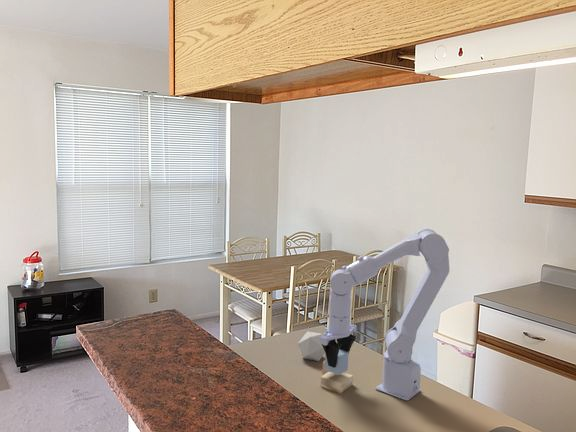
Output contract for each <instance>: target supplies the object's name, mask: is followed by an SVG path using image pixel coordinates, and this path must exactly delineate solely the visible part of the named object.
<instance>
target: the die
mask: <svg viewBox="0 0 576 432" xmlns="http://www.w3.org/2000/svg"><path fill="white" fill-rule="evenodd" d="M323 334H324V333H319V332H313V331H306V333H305V334H304V335H303V336H302V338H301V339H300V340H299V341H298V342H297V345H298V347H299V351H300V353H301V355H302V359H304V360H311V361H315V362H319V361H320V360H321V358H323V357H324V356H325V355H324V354H325V351H324V348H323V346H322V345H321V344H320V336H322V335H323Z"/></svg>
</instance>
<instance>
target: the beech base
mask: <svg viewBox="0 0 576 432" xmlns="http://www.w3.org/2000/svg"><path fill="white" fill-rule="evenodd" d="M353 381H354V375H352V374H351V373H347V372H343V373H341V374H339V375H337V374H334V373H332V372H327V373H326V374H324V375H321V376H320V385H319V386H320V387H321V388H324V389H327V390H330V391H333V392H336V393H338V394H343V393H344V392H345V391H347V390H348V389H349V388H350V387H351V386H353V383H354V382H353Z"/></svg>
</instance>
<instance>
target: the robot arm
mask: <svg viewBox="0 0 576 432" xmlns="http://www.w3.org/2000/svg"><path fill="white" fill-rule="evenodd" d="M449 252H450V248H449V246H448V244H447V243H446V240H445V239H444V237H443V236H442V235H440V234H438V233H437V232H435V231H434V230H433V229H430V228H424V229H422V230H419V231H418V232H414V233H413V234H410V235H409V236H407V237H405V238H403V239H402V240H400V241H398V242H396V243H395V244H393V245H391V246H389V247H388V248H387V249H385V250H383V251H381V252H380V253H378V254H376V255H375V256H371V255H365V256H363V255H360V256H358V257H357V260H356V261H354V262H353V263H351V264H348V265H343V266H342V267H341V268H342V269H340V268H339V269H336V270H334V271H333V272H332V273H331V275H330V278H329V286H330V291H329V295H330V297H329V301H328V302H329V303H328V305H329V306H328V325H327V326H326V327H325V328H324V331H325V332H324V333H322V334H323V335H322V336H320V344H321V345H322V346H323V348H324V351H325V353H326V357H327V362H328V366H331V367H333V368H335V367H336V364H337V358H338V353H339V350H343V351H347V352H349V353H350V351H351V348H352V346H353V345H354V343H355V341H356V340H357V336H356V335H354V334H352V333H356V332H357V325H356V324H353V323H351V305H352V298H351V291H352V290H353V287H356V286H359V285H361V284H363V283H364V282H366V281H368V280H370V279H371V278H373V277H376V276H377V275H378V274H379V270H380V268H382V267H385V266H387V265H389V264H391V263H393V262H395V261H397V260H399V259H401V258H403V257H405V256H415V257H421V254H422V256H423V259H424V261H425V264H426V266H427V269H426V272H425V274H424V276H423V277H422V279H421V281H420V282H419V285H418V286H417V288H416V290H415V291H414V293H413V295H412V297H411V299H410V301H409V302H408V305H407V306H406V308H405V310H404V312H403V314H402V315H401V318H400V319H399V320H397V321H396V322H395V323H394V326H393V327H391V328H390V329H388V330H387V331H386V333H385V335H384V344H385V345H386V348H387V349H386V350H385V351H384V353H383V359H382V360H383V361H382V363H383V364H382V377H381V378H382V379H381V381H382V383H380V384H378V385H377V386H375V390H377V391H380V392H383V393H385V394H388V395H390V396H392V397H396V398H399V399H400V400H401V399H402V400H404V401H409V400H411V399H412V398H413V397H414V396H416V395H417V394H418V393H419V392H421V390H422V389H421V388H420V385H421V366H420V364H419V363H418V362H415V361H414V360H413V359H412V355H413V347H414V344H415V342H416V340H417V333H418V330H419V328H420V326H421V325H422V322H423V320H424V319H425V318H426V315H427V313H428V312H429V310H430V308H431V307H432V305H433V303H434V301H435V299H436V297H437V296H438V294H439V292H440V290H441V288H442V286H443V284H444V283H445V281H446V279H447V277H448V275H449V273H450V258H449ZM420 253H421V254H420ZM325 353H324V354H325Z"/></svg>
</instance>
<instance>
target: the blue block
mask: <svg viewBox="0 0 576 432" xmlns="http://www.w3.org/2000/svg"><path fill="white" fill-rule="evenodd" d="M324 354H325V355H324V356H325V357H324V360H325V370H326V371H329V372H332V373H334V374H337V375H339V374H341V373H343V372H344V373H346V371H348V370H349V354H350V351H349V352H347V351H343V350H339V353H338V358H337V364H336V367H335V368H333V367H331V366H328V362H327V357H326V353H324Z"/></svg>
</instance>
